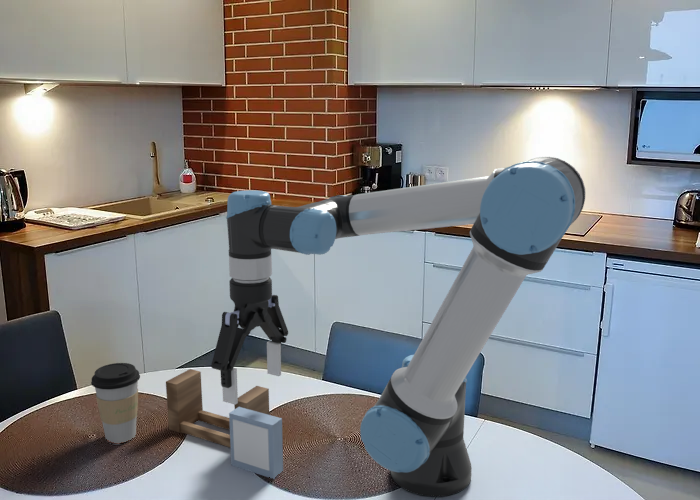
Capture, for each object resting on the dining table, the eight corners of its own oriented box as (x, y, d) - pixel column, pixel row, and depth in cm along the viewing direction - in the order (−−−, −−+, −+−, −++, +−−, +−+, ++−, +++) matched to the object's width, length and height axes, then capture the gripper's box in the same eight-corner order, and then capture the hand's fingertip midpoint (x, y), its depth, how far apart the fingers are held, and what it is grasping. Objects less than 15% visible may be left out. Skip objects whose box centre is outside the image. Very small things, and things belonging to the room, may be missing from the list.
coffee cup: (129, 451, 130) (123, 381, 126) (87, 446, 132) (80, 377, 128) (152, 428, 139) (147, 363, 135) (112, 424, 141) (107, 359, 137)
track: (270, 437, 135) (268, 388, 133) (248, 454, 129) (246, 403, 126) (192, 414, 145) (190, 368, 142) (168, 429, 138) (165, 381, 136)
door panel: (283, 471, 123) (282, 418, 121) (273, 479, 120) (271, 425, 118) (240, 457, 128) (238, 406, 125) (230, 465, 125) (228, 413, 122)
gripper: (273, 260, 128) (274, 360, 133) (186, 292, 107) (192, 410, 111) (305, 265, 125) (306, 367, 129) (222, 299, 103) (226, 420, 108)
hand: (253, 387), depth 120 cm, fingers open, 13 cm apart
